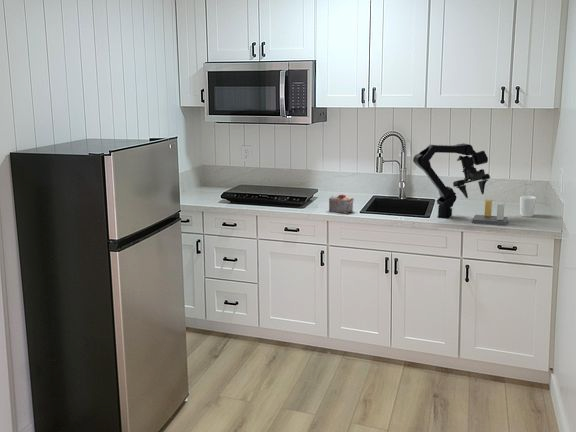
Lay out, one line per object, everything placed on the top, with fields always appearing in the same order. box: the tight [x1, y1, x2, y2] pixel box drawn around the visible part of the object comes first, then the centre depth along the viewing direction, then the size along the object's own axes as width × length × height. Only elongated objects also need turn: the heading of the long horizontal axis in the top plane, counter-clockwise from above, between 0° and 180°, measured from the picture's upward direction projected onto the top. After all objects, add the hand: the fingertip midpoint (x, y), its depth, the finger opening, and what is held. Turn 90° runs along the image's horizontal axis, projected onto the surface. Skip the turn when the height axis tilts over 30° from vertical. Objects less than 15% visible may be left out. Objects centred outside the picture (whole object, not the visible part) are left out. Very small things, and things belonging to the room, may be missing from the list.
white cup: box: [519, 195, 537, 218], centre depth 312 cm, size 8×8×10 cm
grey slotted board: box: [471, 214, 509, 227], centre depth 300 cm, size 16×12×2 cm
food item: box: [328, 194, 355, 213], centre depth 330 cm, size 14×8×10 cm, turn 64°
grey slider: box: [496, 202, 505, 220], centre depth 295 cm, size 3×4×8 cm
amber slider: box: [484, 199, 493, 217], centre depth 303 cm, size 3×4×8 cm
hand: (475, 196), depth 309 cm, fingers open, 9 cm apart
